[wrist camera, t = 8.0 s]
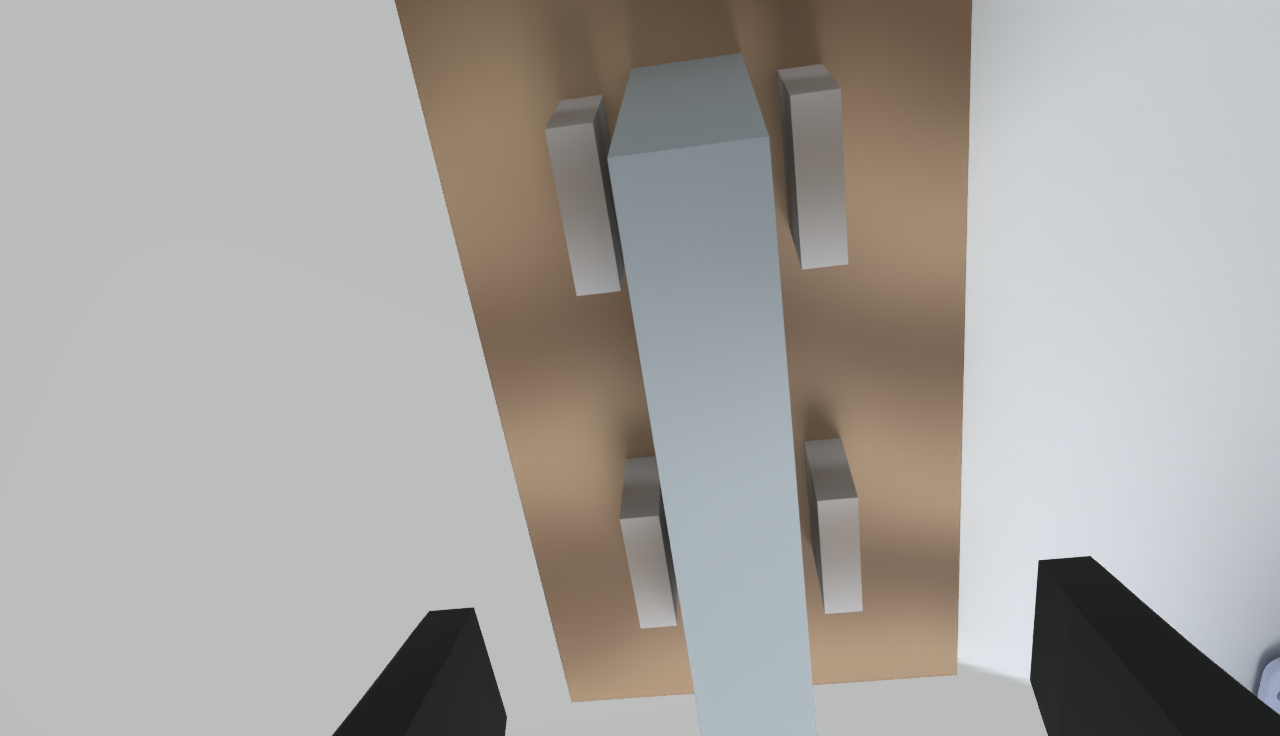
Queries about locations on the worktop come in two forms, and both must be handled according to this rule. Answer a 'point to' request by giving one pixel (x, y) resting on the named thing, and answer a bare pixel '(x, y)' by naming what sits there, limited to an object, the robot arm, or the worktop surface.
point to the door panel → (717, 384)
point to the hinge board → (811, 297)
